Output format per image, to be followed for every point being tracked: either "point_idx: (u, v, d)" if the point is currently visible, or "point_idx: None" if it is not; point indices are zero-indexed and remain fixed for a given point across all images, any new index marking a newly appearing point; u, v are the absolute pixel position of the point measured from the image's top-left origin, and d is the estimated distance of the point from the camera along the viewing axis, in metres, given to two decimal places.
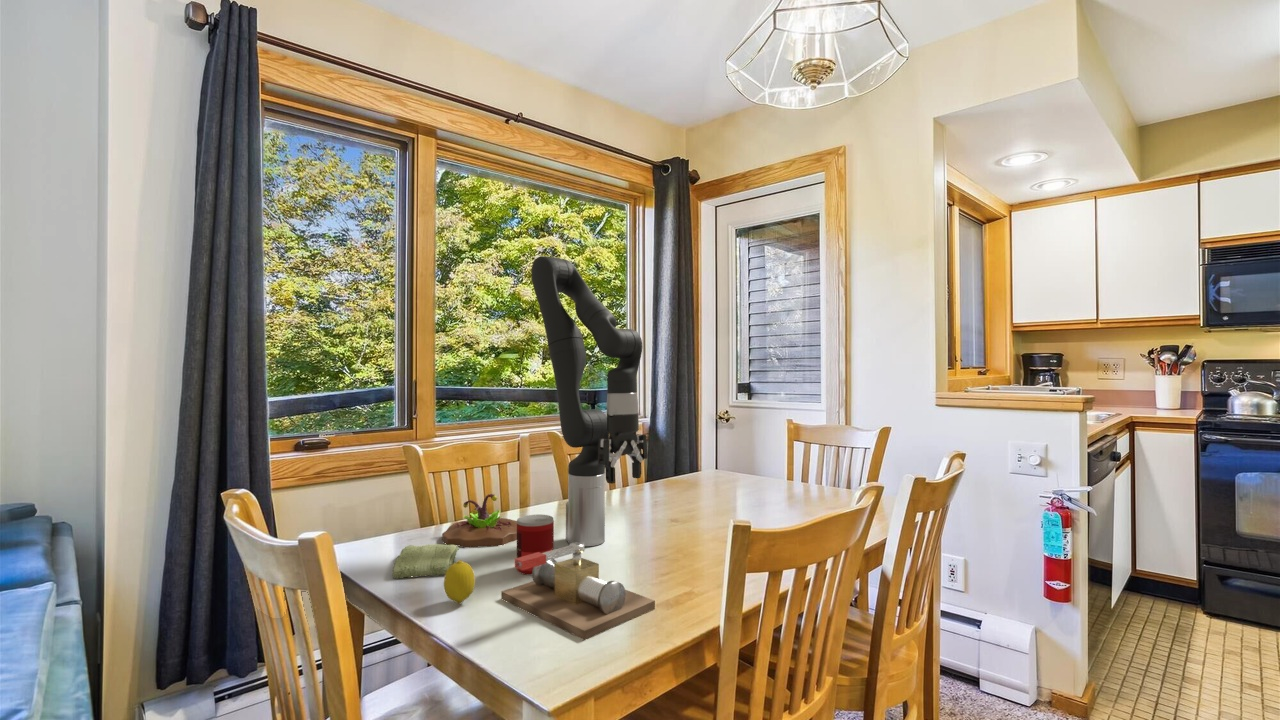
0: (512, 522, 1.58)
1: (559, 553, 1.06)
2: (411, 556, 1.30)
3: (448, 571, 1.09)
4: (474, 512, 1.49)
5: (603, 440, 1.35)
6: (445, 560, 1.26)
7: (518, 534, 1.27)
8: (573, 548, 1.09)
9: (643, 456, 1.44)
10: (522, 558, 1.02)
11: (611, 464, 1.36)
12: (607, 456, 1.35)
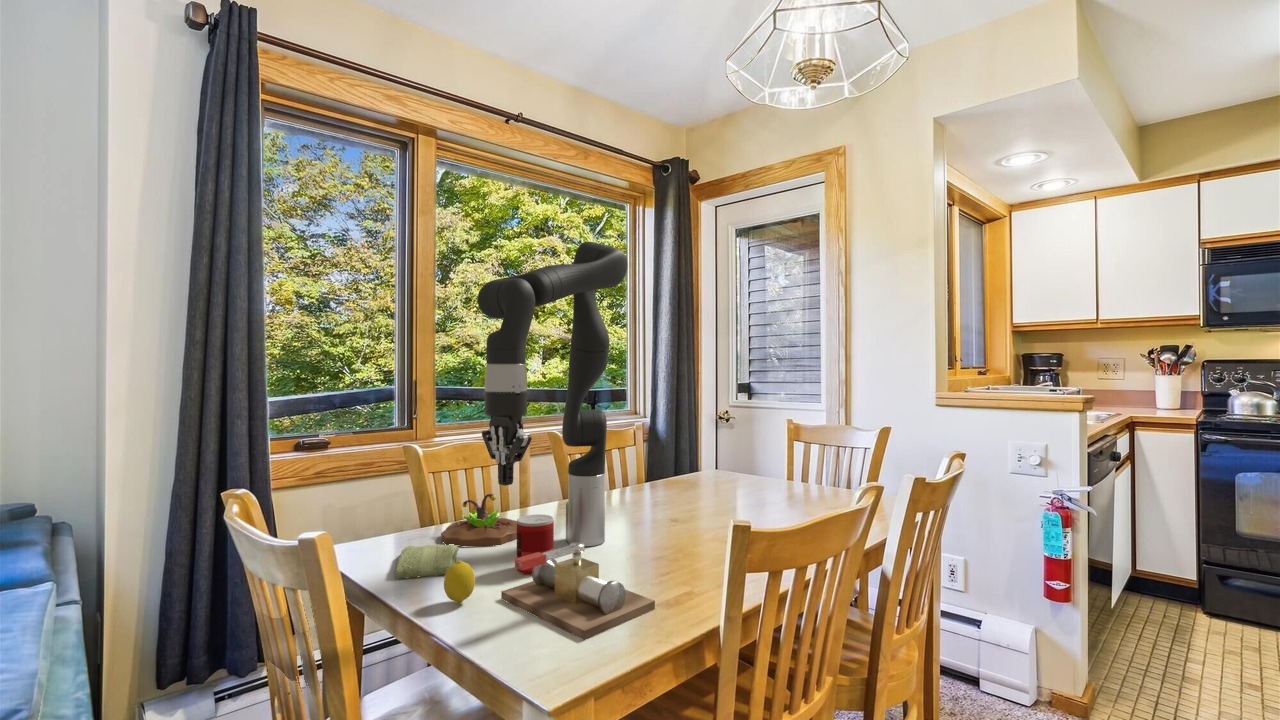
0: (511, 522, 1.58)
1: (559, 553, 1.06)
2: (413, 556, 1.30)
3: (448, 571, 1.09)
4: (472, 512, 1.49)
5: (527, 439, 1.03)
6: (448, 560, 1.27)
7: (518, 534, 1.27)
8: (573, 548, 1.09)
9: None
10: (522, 558, 1.02)
11: None
12: None
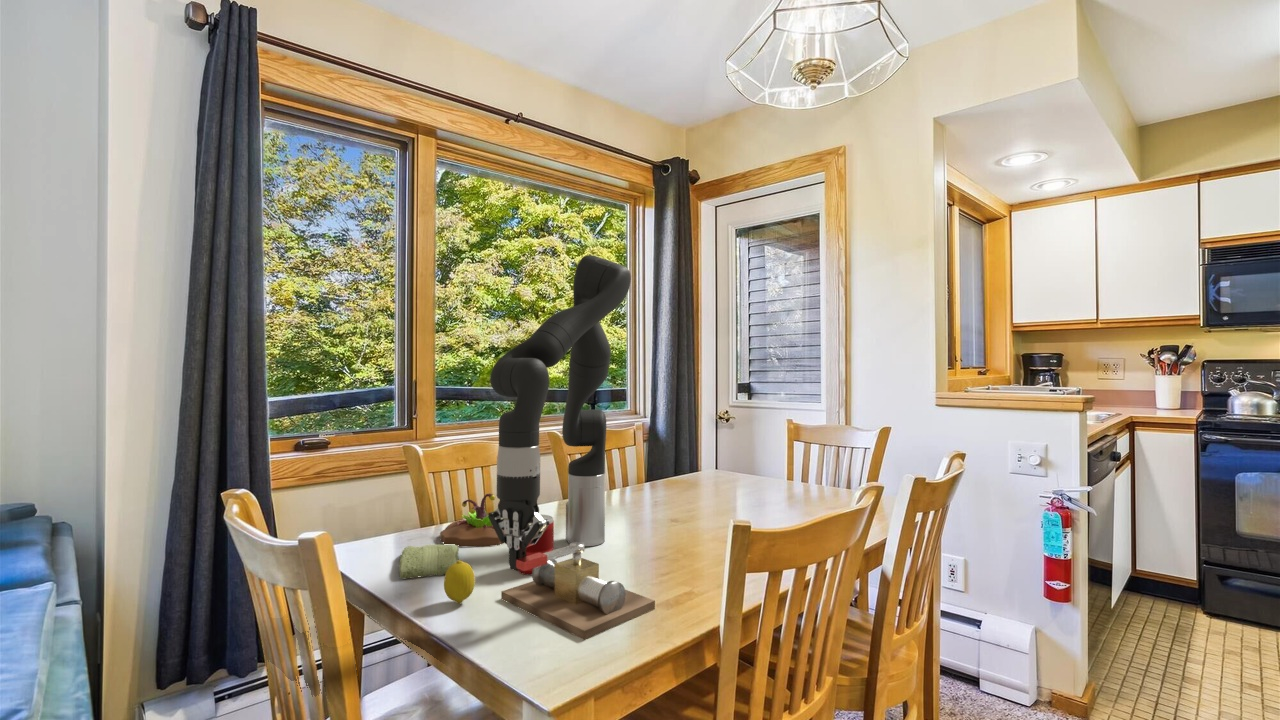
0: None
1: (560, 553, 1.06)
2: (415, 556, 1.29)
3: (448, 571, 1.09)
4: (472, 511, 1.49)
5: (545, 524, 1.01)
6: (452, 559, 1.27)
7: None
8: (573, 548, 1.09)
9: (513, 536, 1.06)
10: (523, 559, 1.01)
11: None
12: None
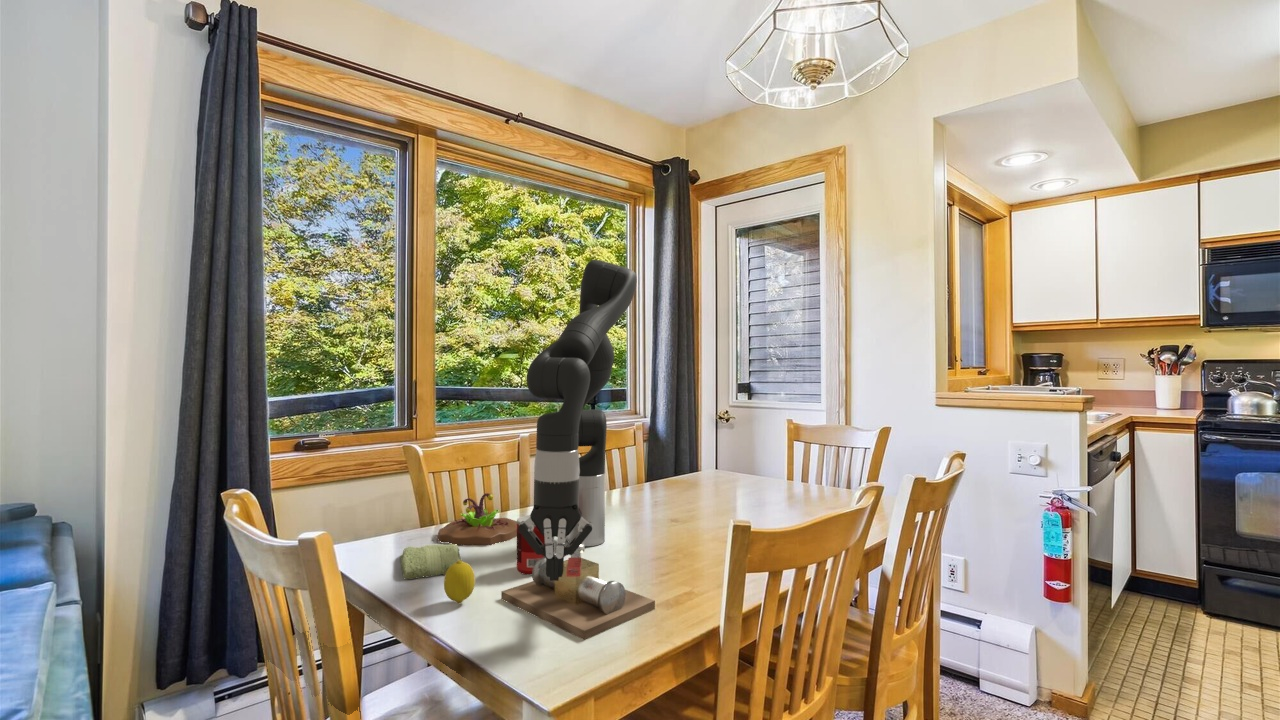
0: (510, 522, 1.58)
1: (580, 554, 1.05)
2: (417, 557, 1.29)
3: (448, 571, 1.09)
4: (467, 510, 1.50)
5: (592, 526, 1.00)
6: (455, 559, 1.27)
7: (518, 534, 1.27)
8: (580, 548, 1.09)
9: None
10: (572, 565, 0.98)
11: None
12: None
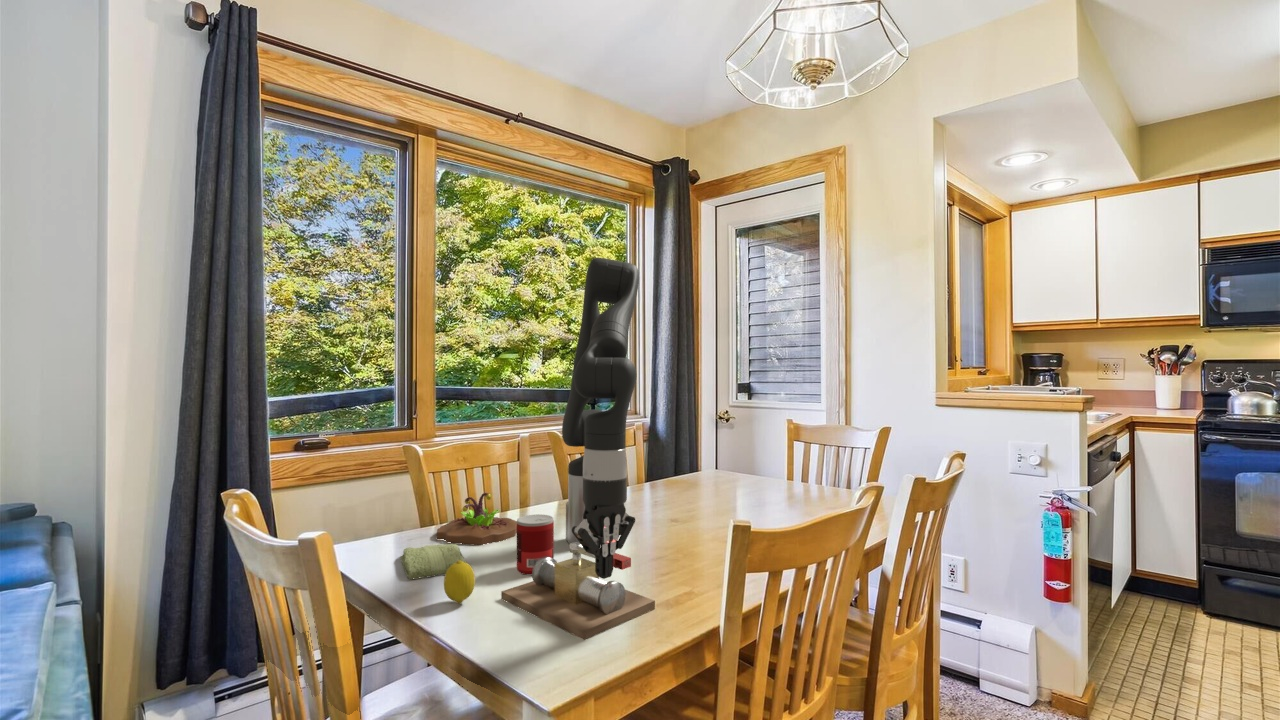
0: (509, 523, 1.57)
1: None
2: (419, 557, 1.29)
3: (448, 571, 1.09)
4: (463, 509, 1.51)
5: None
6: (459, 558, 1.28)
7: (518, 534, 1.27)
8: None
9: None
10: (621, 558, 1.02)
11: None
12: None
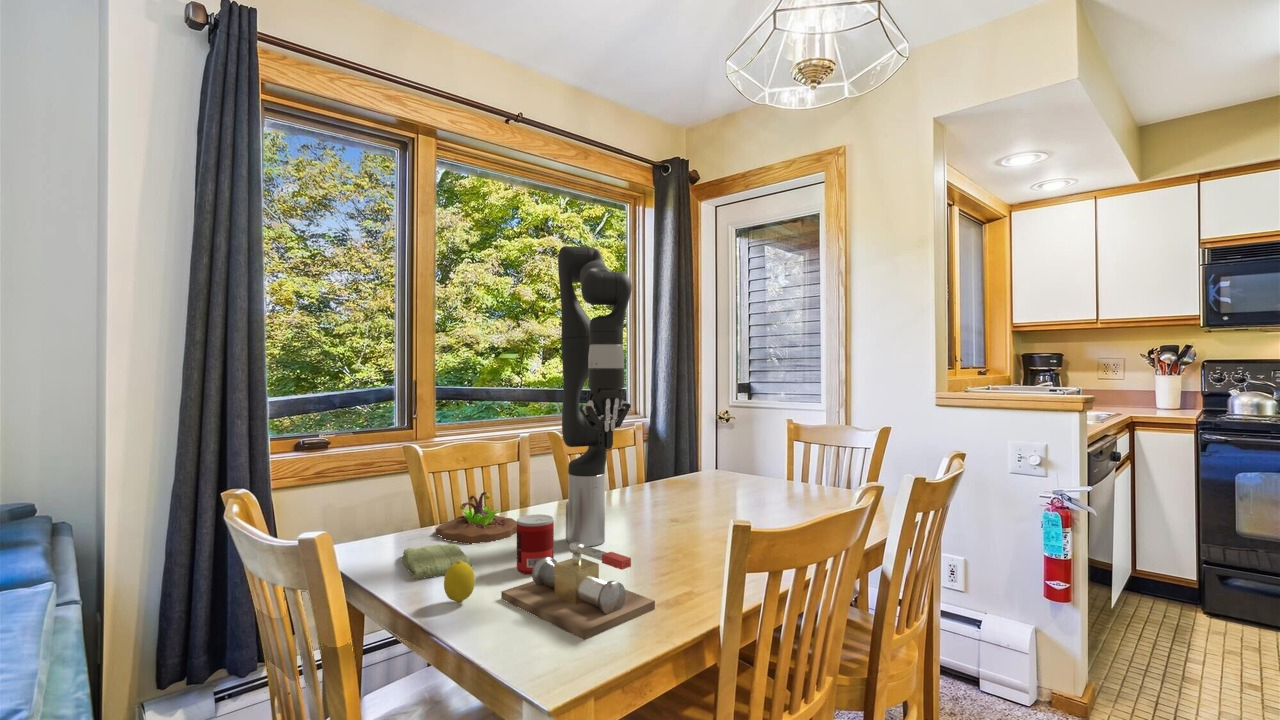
0: (508, 523, 1.57)
1: None
2: (423, 557, 1.29)
3: (448, 571, 1.09)
4: (460, 507, 1.53)
5: None
6: (464, 557, 1.28)
7: (518, 534, 1.27)
8: None
9: None
10: (621, 558, 1.02)
11: None
12: None
